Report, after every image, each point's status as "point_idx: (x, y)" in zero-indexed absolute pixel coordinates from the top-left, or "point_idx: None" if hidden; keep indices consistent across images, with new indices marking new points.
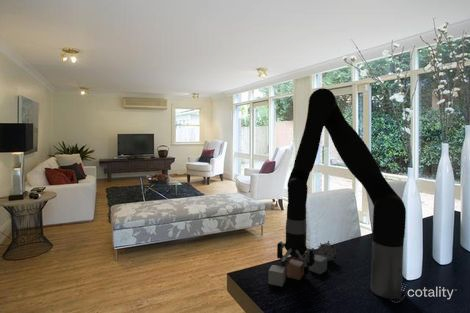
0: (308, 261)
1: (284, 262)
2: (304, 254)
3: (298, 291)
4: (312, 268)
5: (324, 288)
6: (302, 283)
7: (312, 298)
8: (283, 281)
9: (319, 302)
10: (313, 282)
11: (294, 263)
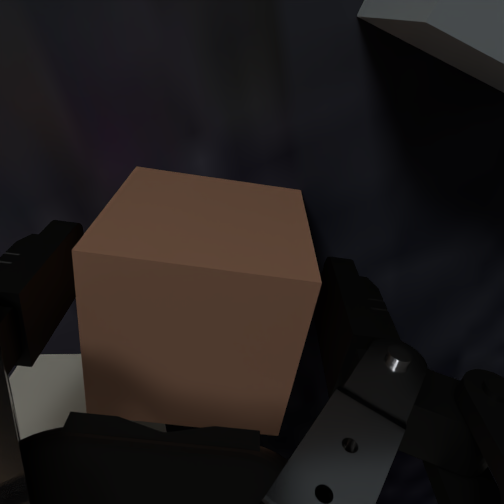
0: (418, 391)
1: (27, 356)
2: (365, 489)
3: (293, 448)
4: (429, 50)
5: (500, 365)
6: (308, 355)
7: (391, 480)
8: (156, 428)
9: (432, 497)
10: (409, 310)
11: (182, 376)
